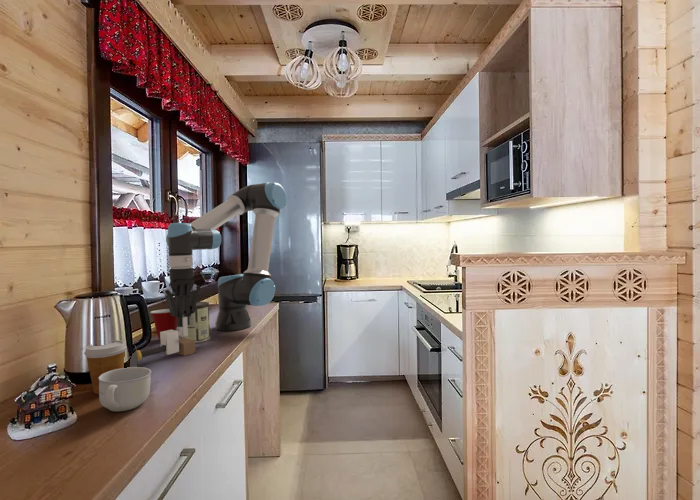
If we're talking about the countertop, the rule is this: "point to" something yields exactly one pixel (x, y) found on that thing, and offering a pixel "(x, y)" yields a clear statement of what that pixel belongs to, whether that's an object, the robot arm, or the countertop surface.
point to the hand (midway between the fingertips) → (183, 335)
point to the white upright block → (170, 341)
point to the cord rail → (184, 349)
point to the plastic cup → (164, 321)
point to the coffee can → (199, 323)
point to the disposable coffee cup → (104, 360)
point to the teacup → (124, 388)
